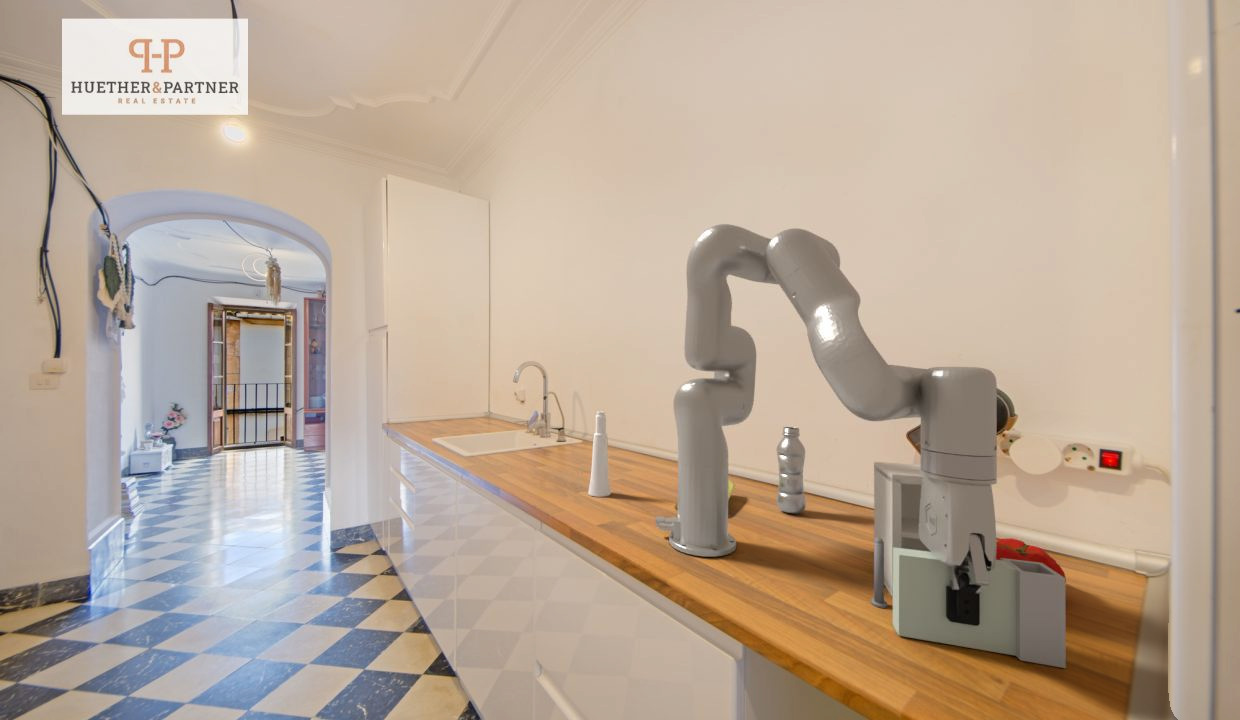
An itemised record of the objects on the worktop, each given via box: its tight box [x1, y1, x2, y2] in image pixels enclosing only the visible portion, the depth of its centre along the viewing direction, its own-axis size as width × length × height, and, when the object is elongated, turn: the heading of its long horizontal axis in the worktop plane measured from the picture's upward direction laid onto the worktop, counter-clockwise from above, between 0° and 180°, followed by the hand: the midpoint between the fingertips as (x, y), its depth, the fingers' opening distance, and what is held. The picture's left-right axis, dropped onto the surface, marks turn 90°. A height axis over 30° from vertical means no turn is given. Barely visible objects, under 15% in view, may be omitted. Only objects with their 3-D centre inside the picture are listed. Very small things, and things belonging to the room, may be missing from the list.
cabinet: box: [870, 461, 931, 609], centre depth 66 cm, size 16×14×18 cm
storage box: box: [892, 547, 1067, 669], centre depth 54 cm, size 16×4×10 cm, turn 73°
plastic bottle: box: [775, 426, 807, 514], centre depth 104 cm, size 6×7×20 cm
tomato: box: [996, 537, 1067, 585], centre depth 68 cm, size 10×11×6 cm
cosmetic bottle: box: [587, 410, 612, 498], centre depth 117 cm, size 6×6×22 cm
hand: (956, 614), depth 54 cm, fingers closed on storage box, 2 cm apart
